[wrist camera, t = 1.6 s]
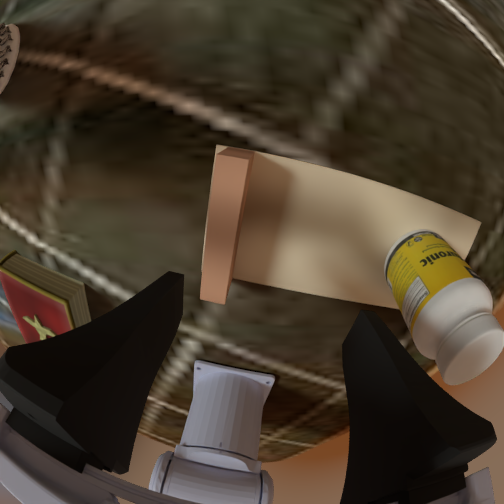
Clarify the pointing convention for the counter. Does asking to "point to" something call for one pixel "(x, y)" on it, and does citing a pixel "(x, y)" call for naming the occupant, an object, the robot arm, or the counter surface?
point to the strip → (311, 228)
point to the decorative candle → (8, 52)
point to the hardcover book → (42, 298)
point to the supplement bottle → (443, 305)
